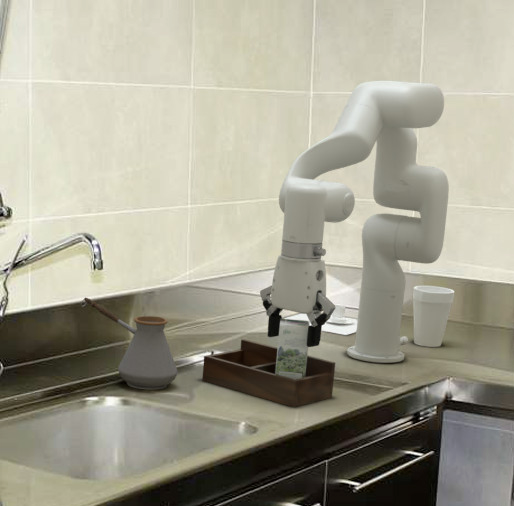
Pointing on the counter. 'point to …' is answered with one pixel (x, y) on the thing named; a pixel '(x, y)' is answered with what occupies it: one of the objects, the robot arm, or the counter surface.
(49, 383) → the counter surface
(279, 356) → the tea packet
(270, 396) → the compartment tray
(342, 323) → the teacup and saucer
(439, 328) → the foam cup
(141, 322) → the coffee pot
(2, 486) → the counter surface
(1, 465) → the counter surface
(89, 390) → the counter surface
